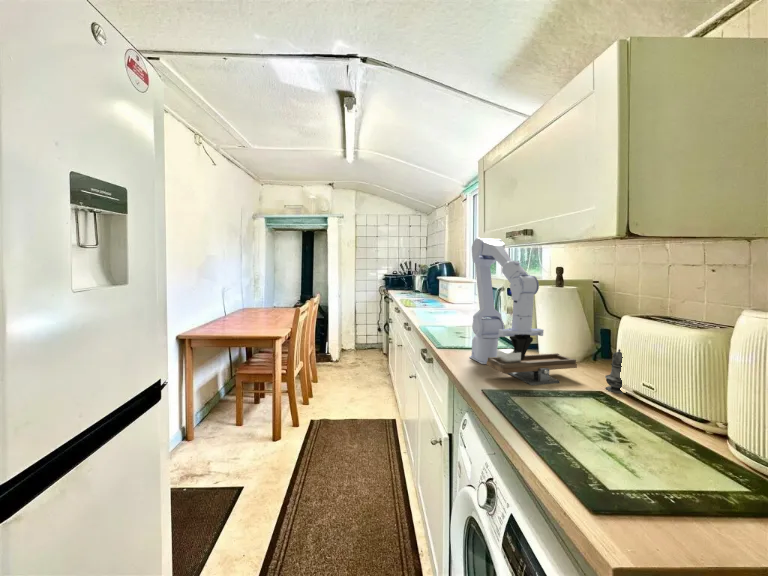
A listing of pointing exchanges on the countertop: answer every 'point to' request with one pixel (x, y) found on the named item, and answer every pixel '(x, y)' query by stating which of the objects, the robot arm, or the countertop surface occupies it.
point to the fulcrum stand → (536, 377)
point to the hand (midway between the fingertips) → (519, 359)
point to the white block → (508, 356)
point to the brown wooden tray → (534, 363)
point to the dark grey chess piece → (615, 374)
